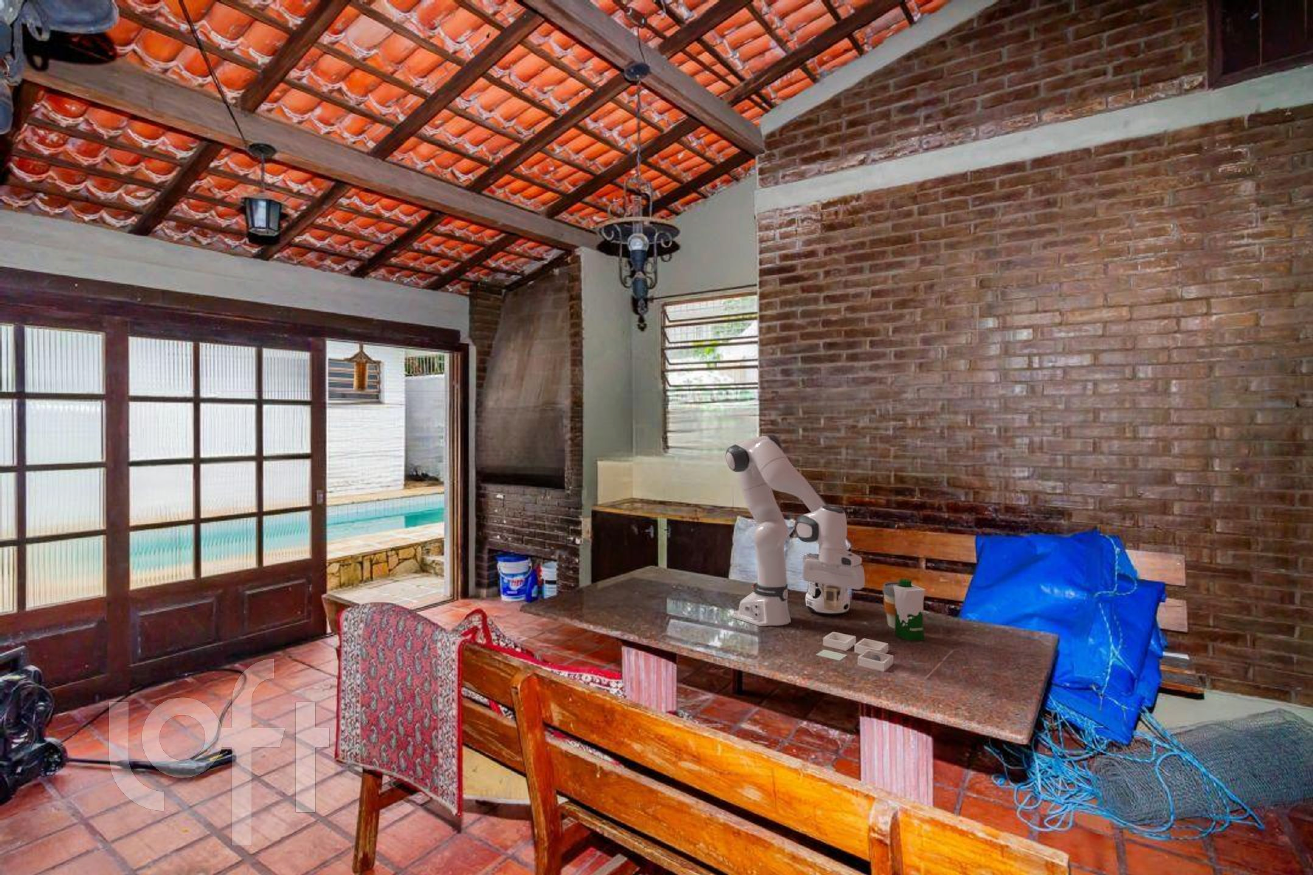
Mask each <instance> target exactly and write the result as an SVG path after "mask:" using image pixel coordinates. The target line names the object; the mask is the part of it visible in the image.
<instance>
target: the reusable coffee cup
mask: <svg viewBox="0 0 1313 875" xmlns="http://www.w3.org/2000/svg"><path fill="white" fill-rule="evenodd" d="M911 584H912V585H915V586H917V585H916V584H913V583H911ZM896 585H899V581H890V582H885V583H883V585H882V586H883V588H882V594H883V605H884V612H885V613H886V620H887V625H888V626H889V627H890V628H893V629H895V593H894V587H893V586H896Z"/></svg>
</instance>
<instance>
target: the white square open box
mask: <svg viewBox="0 0 1313 875" xmlns="http://www.w3.org/2000/svg"><path fill="white" fill-rule="evenodd" d="M874 654H876V655H878V656H879V657H880V659H881V661H875V660H871V659H870V658H871V656H872V655H874ZM893 664H894V655H892V654H888V653H885V654H884V653H880V652H875V651H871V650H866V651H865V652H864V653H862V654H859V655H858V656H857V666H860V667H864V668H866V669H872V670H876V671H880V672H885V671H887V670H888V669H889V668H890V667H891V666H893Z"/></svg>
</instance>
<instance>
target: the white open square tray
mask: <svg viewBox="0 0 1313 875" xmlns="http://www.w3.org/2000/svg"><path fill="white" fill-rule="evenodd" d="M855 644H857V637H856V635H852V634H851V635H850V634H844V633H841V632H837V631H836V632H835V631H832V632H831V633H828V634H827V635H825V636H824V637H822V646H824V647H829V648H833V649H837V650H841V651H849V650H850V649H851V648H852V647H855Z"/></svg>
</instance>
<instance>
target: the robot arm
mask: <svg viewBox="0 0 1313 875" xmlns="http://www.w3.org/2000/svg"><path fill="white" fill-rule="evenodd" d="M725 461H726V464H727V466H728V467H729V469H730V470H731V471H732V472H735V473H737V475H738V481H739V484H740V488H741V492H742V494H743V497H744V500H745V503H746V507H747V509H748V512H750V514H751V516H752V517H753V521H754V522H755V524H756V526H757V527H756V528H755V531H754V533H753V541H754V549H755V555H756V564H757V574H756V575H757V582H755V583H754V584H752V585H751V589H753V591H752V592H751V593H750V594H748V595H747V596H745V597H744V598H742V599H741V600H740V602H739V607H738V610H737V611H735V612H734V613H732V618H734V619H736V620H740V621H743V622H746V623H749V624H752V625H755V626H759V627H766V626H768V627H769V626H784V625H788V624H789V623H791V622H792V620H791V617H790V616H791V615H790V612H789V607H788V605H789V604H788V593H789V592H788V589H789V588H788V584H787V562H786V555H785V542H786V540H787V539H788V537H789V527H788V524H787V523H786V520H785V518H784V515H783V514H782V511H781V508H780V507H779V505H778V503H777V501H776V498H775V495H774V492H773V490H775V491H777V492H781V493H785V494H788V495H789V494H790V495H792V496H794V497H796V498H798V499H800V500H801V501H802V502H803V503H804V505H805V506H806V507H807V508H808V510H809V511H810V512H808V513H804V514H801V515H799V516H798V517H797V518H796V520H795V522H794V532H795V536H796V537H797V538H798V540H800V541H801V542H803V543H811V544H812V543H815V542H816V543H818V553H811V552H807V553H805V554H804V555H803V556H802V563H803V564H802V573H801V575H802V576H801V578H802V579H803V580H804V582H808V581H809V582H815V583H818V587H819V589H820V591H821V597H824V587H823V586H824V585H825V584H827V585H833V586H839V587H841V590H843V591H842V592H841V594H838V600H841V601H843V600H844V594H845V593H846V591H847V589H852V590H853V589H854V590H861V589H863V588H864V587H865V585H866V578H865V577H866V576H865V571H864V566H862V565H861V563H862V561H863V558H862V557H861V556H859V555H858V554H855V553H853V552H851V551H849V550H848V545H847V542H846V539H847V535H848V527H847V526H848V524H847V523H848V522H847V516H846V512H845V511H844V509H843V508H842V507H839V506H836V505H830V504H828V503H827V501H825V499H824V498H823V497H822V496H821V494H820V493H819V492H818V491H817V490H816V488H815V487H814V486H813V485H812V483H811V482H810V481H809V480H808V479H807V478H806V477H805V476H803V475H802V474H801V473H800V472H799V471H798V470H797V469H796V468H795V467H794V466H793V464H792V463H791V461H790V460H789V458H788V457H787V455H786V454H785V453H784V451H783V447H782V443H781V441H780V439H779V438H778V437H777V436H776V435H775V434H763V436H761V435H760V436H757V437H752V438H749V439H747V440H745V441H744V440H743V441H742V442H739V443H737V444H733V445H731V446H729V447H728V448H727V449H726V452H725Z"/></svg>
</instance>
